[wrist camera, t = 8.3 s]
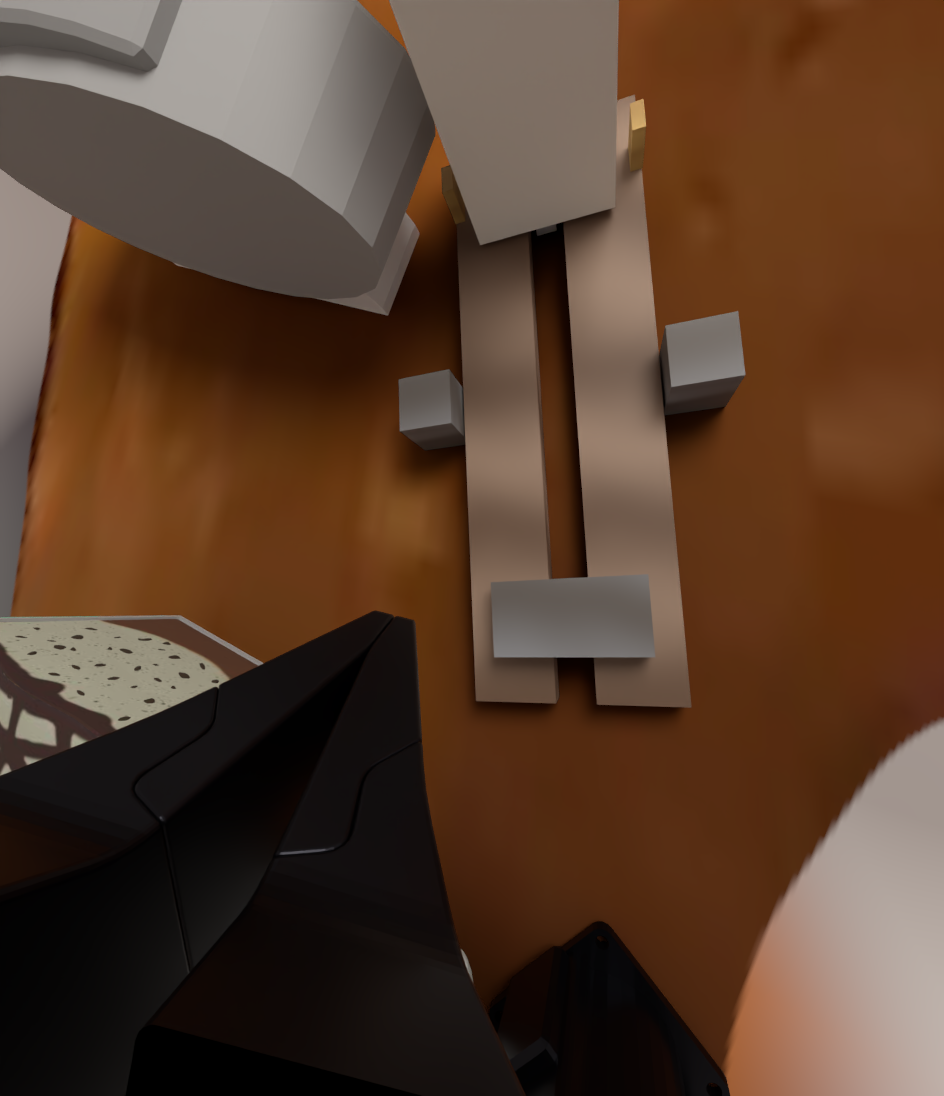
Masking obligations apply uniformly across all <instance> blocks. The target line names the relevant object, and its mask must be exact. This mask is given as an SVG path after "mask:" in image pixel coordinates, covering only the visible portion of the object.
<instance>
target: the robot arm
mask: <svg viewBox="0 0 944 1096" xmlns="http://www.w3.org/2000/svg"><path fill="white" fill-rule="evenodd" d="M600 935H601V936H604V937H605V938H606V939H607V940H608V941H607V942H600V941H599V940H598V939H597V936H600ZM498 1011H501V1012H503V1013H502V1015H501V1014H500V1013H499V1012H498ZM489 1017H490V1018H489ZM495 1030H496V1031H497V1033H496V1031H495ZM708 1083H715V1084H717V1085H718V1087H711V1086H709V1085H708ZM0 1096H730V1093H729V1088H728V1084H727V1080H726V1077H725V1075H724V1073H723V1072H722V1070H721V1069H720V1068H719V1067H718V1065H717V1064H716V1063H715V1061H714V1060H713V1059H712V1057H711V1056H710V1055H709V1054H708V1052H707V1051H706V1050H705V1048H704V1047H703V1046H702V1044H701V1043H700V1042H699V1041H698V1039H697V1038H696V1037H695V1035H694V1034H693V1033H692V1032H691V1030H690V1029H689V1028H688V1026H687V1025H686V1024H685V1022H684V1021H683V1020H682V1019H681V1017H680V1016H679V1015H678V1013H677V1012H676V1011H675V1009H674V1008H673V1007H672V1006H671V1004H670V1003H669V1002H668V1000H667V999H666V998H665V997H664V995H663V994H662V993H661V991H660V990H659V989H658V987H657V986H656V985H655V984H654V982H653V981H652V980H651V978H650V977H649V976H648V974H647V973H646V972H645V971H644V969H643V968H642V967H641V965H640V964H639V963H638V961H637V960H636V959H635V958H634V956H633V955H632V954H631V952H630V951H629V950H628V949H627V947H626V946H625V945H624V943H623V942H622V941H621V939H620V938H619V937H618V936H617V934H616V933H615V932H614V930H613V929H612V928H611V927H610V926H609V925H608V924H606V923H604V922H595V923H593V924H592V925H590V926H589V927H588V928H586V929H585V930H584V931H582V932H581V933H580V934H578V935H577V936H576V937H575V938H573V939H572V940H571V941H569V942H568V943H567V944H565V945H564V946H563V947H561V946H553V947H552V948H550V949H549V950H548V951H546V952H545V953H544V954H542V955H541V956H540V957H539V958H537V959H536V960H535V961H533V962H532V963H531V964H529V965H528V966H527V967H525V968H524V969H523V970H521V971H520V972H519V973H518V974H516V975H515V976H514V977H512V979H511V982H510V986H509V988H507V989H506V990H505V991H503V992H502V993H501V994H499V995H498V996H497V997H495V999H494V1000H493V1001H492V1005H491V1009H490V1013H489V1016H488V1014H487V1011H486V1009H485V1007H484V1005H483V1003H482V1001H481V999H480V997H479V994H478V992H477V990H476V988H475V986H474V984H473V982H472V979H471V977H470V975H469V973H468V970H467V967H466V964H465V961H464V958H463V955H462V952H461V949H460V945H459V942H458V938H457V934H456V931H455V927H454V923H453V918H452V914H451V910H450V906H449V901H448V896H447V892H446V887H445V882H444V878H443V873H442V868H441V864H440V859H439V854H438V850H437V845H436V840H435V836H434V831H433V826H432V821H431V816H430V810H429V804H428V798H427V793H426V784H425V774H424V764H423V746H422V733H421V715H420V698H419V680H418V663H417V645H416V627H415V621H414V620H411V619H407V618H403V617H399V616H396V617H394V616H393V615H391V614H388V613H384V612H380V611H372V612H370V613H368V614H366V615H364V616H362V617H360V618H358V619H355V620H353V621H351V622H349V623H347V624H345V625H343V626H341V627H339V628H337V629H335V630H332V631H330V632H328V633H326V634H324V635H322V636H320V637H318V638H316V639H314V640H311V641H309V642H307V643H305V644H303V645H301V646H299V647H297V648H295V649H293V650H291V651H288V652H286V653H284V654H282V655H280V656H278V657H276V658H274V659H272V660H270V661H267V662H265V663H263V664H261V665H259V666H257V667H255V668H253V669H251V670H249V671H247V672H244V673H242V674H240V675H238V676H236V677H234V678H232V679H230V680H228V681H226V682H224V683H221V684H220V685H219V688H218V687H213V688H211V689H208V690H206V691H204V692H202V693H200V694H198V695H196V696H194V697H192V698H189V699H187V700H185V701H183V702H181V703H178V704H176V705H174V706H172V707H170V708H167V709H165V710H163V711H161V712H159V713H156V714H154V715H151V716H149V717H147V718H144V719H142V720H139V721H137V722H134V723H132V724H130V725H127V726H125V727H122V728H120V729H117V730H115V731H112V732H110V733H107V734H105V735H102V736H100V737H97V738H95V739H92V740H90V741H87V742H85V743H82V744H79V745H77V746H74V747H72V748H69V749H67V750H64V751H62V752H59V753H57V754H54V755H51V756H49V757H46V758H44V759H41V760H39V761H36V762H34V763H31V764H29V765H26V766H23V767H21V768H18V769H16V770H13V771H11V772H8V773H6V774H3V775H0Z"/></svg>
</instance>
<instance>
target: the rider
mask: <svg viewBox="0 0 944 1096" xmlns="http://www.w3.org/2000/svg"><path fill="white" fill-rule="evenodd" d="M389 2H390V5H391V7H392V10H393V13H394V15H395V18H396V21H397V23H398V26H399V29H400V31H401V34H402V37H403V39H404V42H405V45H406V47H407V50H408V53H409V56H410V58H411V61H412V64H413V66H414V69H415V72H416V74H417V77H418V80H419V82H420V85H421V88H422V90H423V93H424V96H425V98H426V101H427V104H428V107H429V109H430V112H431V115H432V117H433V120H434V123H435V125H436V128H437V131H438V133H439V136H440V139H441V141H442V144H443V147H444V149H445V152H446V155H447V158H448V160H449V163H450V166H451V168H452V171H453V174H454V176H455V179H456V182H457V184H458V187H459V190H460V192H461V195H462V198H463V200H464V203H465V206H466V209H467V211H468V214H469V217H470V219H471V222H472V225H473V227H474V230H475V233H476V235H477V238H478V241H479V243H480V245H483V244H486V243H490V242H493V241H497V240H501V239H504V238H508V237H511V236H515V235H518V234H522V233H526V232H529V231H533V230H536V232H537V236H539V235H542V234H546V233H550V232H553V231H557V228H556V224H558V223H561V222H565V221H568V220H572V219H575V218H579V217H582V216H586V215H590V214H593V213H597V212H600V211H604V210H607V209H611V208H615V194H616V131H617V69H618V7H619V0H389Z"/></svg>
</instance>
